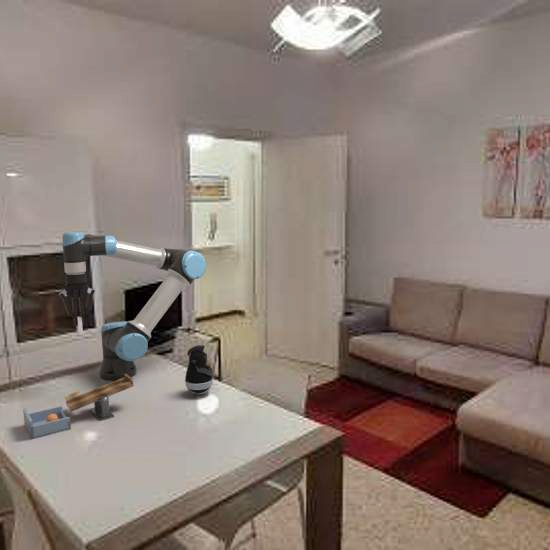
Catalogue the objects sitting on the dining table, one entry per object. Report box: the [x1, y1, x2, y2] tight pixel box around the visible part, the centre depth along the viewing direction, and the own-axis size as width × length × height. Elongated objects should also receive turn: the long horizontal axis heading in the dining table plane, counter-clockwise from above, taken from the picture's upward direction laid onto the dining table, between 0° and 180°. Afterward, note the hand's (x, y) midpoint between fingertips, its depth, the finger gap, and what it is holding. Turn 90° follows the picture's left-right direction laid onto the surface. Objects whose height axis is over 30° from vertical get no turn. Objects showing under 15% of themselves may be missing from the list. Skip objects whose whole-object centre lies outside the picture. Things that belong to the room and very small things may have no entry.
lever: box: [64, 374, 134, 413], centre depth 178 cm, size 22×13×3 cm, turn 126°
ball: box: [46, 414, 58, 422], centre depth 166 cm, size 4×4×4 cm
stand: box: [89, 387, 115, 422], centre depth 175 cm, size 5×11×8 cm, turn 36°
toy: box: [184, 344, 214, 395], centre depth 191 cm, size 11×11×20 cm
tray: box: [22, 405, 72, 440], centre depth 165 cm, size 12×12×6 cm
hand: (80, 333), depth 191 cm, fingers closed
